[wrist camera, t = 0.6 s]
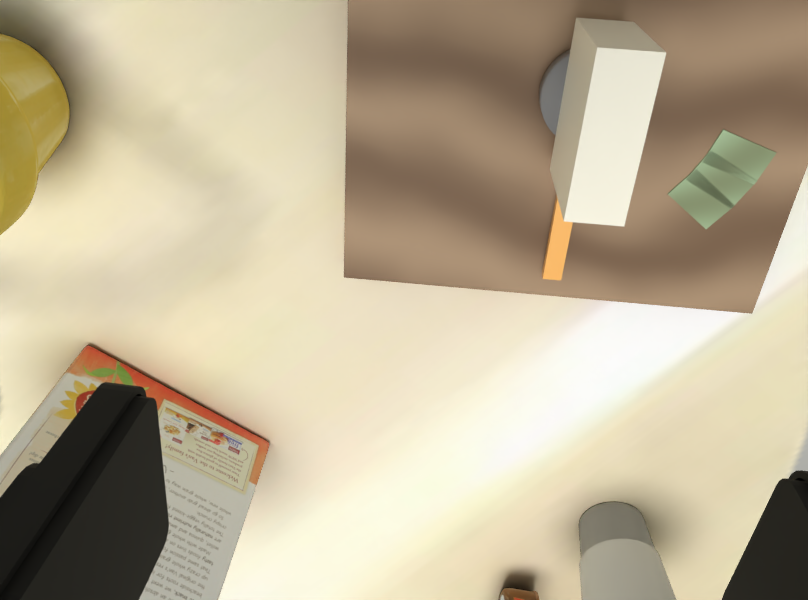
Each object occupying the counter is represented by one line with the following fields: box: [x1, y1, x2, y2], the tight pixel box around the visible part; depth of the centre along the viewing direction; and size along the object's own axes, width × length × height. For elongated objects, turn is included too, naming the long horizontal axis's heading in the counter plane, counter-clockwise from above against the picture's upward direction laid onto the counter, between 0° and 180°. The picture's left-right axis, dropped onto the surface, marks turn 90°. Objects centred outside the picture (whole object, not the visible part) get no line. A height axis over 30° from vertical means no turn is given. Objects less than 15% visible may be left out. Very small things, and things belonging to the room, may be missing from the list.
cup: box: [579, 502, 676, 600], centre depth 46 cm, size 7×7×12 cm
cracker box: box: [0, 345, 269, 600], centre depth 40 cm, size 14×6×21 cm, turn 55°
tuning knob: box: [539, 18, 666, 280], centre depth 32 cm, size 14×4×7 cm, turn 177°
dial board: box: [344, 0, 808, 313], centre depth 35 cm, size 23×23×2 cm
